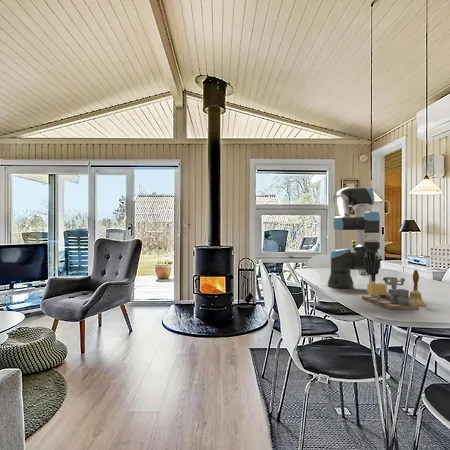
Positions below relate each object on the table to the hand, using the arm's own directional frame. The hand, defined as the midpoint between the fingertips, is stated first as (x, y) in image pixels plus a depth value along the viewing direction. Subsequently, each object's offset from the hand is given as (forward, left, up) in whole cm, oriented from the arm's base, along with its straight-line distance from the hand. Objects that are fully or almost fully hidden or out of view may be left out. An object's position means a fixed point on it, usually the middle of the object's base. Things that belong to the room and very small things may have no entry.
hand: (372, 287), depth 168 cm
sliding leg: (+5, 0, -3) cm, 6 cm away
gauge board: (+13, 0, -6) cm, 14 cm away
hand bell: (+14, +14, -6) cm, 20 cm away
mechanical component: (-2, +14, -6) cm, 15 cm away
